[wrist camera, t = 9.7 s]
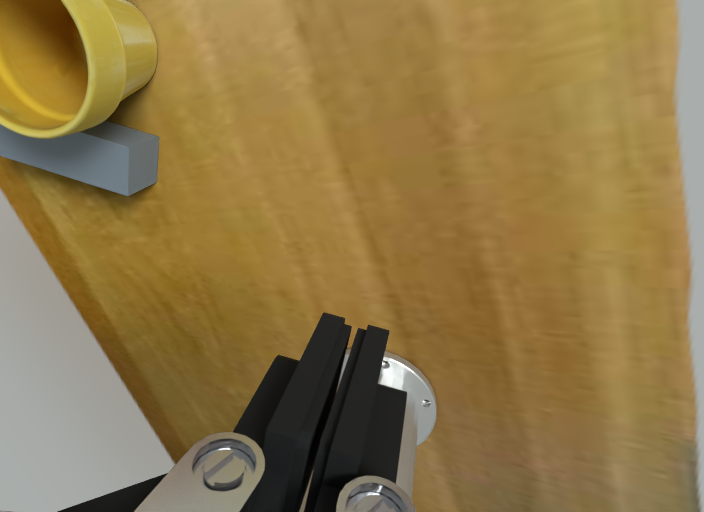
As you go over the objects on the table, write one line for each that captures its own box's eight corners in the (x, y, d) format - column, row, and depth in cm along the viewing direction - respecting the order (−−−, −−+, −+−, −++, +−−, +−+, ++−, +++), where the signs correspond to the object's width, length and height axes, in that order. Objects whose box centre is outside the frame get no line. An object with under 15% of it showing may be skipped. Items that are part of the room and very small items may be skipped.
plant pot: (95, 129, 39) (-7, 155, 31) (33, -7, 36) (-102, -21, 27) (201, 99, 36) (122, 118, 28) (147, -53, 33) (35, -84, 24)
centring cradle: (156, 182, 40) (127, 196, 37) (30, 142, 41) (-11, 152, 38) (172, -116, 31) (135, -136, 27) (7, -160, 32) (-50, -185, 28)
